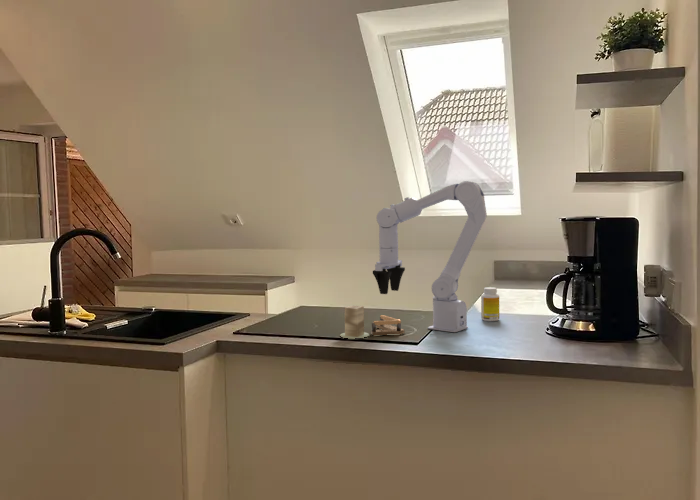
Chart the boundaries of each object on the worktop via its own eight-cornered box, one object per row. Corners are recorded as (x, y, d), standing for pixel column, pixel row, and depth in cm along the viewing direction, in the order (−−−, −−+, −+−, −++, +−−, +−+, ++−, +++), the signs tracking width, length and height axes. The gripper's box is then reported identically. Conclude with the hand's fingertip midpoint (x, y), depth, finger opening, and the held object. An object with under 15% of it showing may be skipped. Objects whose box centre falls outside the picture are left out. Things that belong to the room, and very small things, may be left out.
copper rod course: (413, 331, 171) (413, 317, 170) (389, 339, 162) (389, 324, 161) (382, 326, 178) (381, 313, 178) (357, 333, 169) (356, 319, 169)
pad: (375, 335, 167) (375, 334, 167) (356, 340, 161) (356, 339, 160) (352, 331, 172) (352, 330, 172) (333, 336, 166) (333, 335, 166)
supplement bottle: (502, 321, 183) (502, 288, 182) (486, 322, 182) (486, 289, 181) (494, 317, 188) (494, 286, 187) (478, 319, 187) (478, 287, 186)
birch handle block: (364, 334, 167) (363, 306, 167) (357, 336, 164) (356, 308, 163) (352, 332, 169) (351, 305, 169) (345, 335, 166) (344, 307, 165)
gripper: (387, 246, 186) (388, 288, 187) (365, 249, 173) (366, 294, 174) (407, 246, 182) (408, 289, 183) (387, 249, 170) (387, 296, 171)
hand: (389, 292), depth 179 cm, fingers open, 7 cm apart
